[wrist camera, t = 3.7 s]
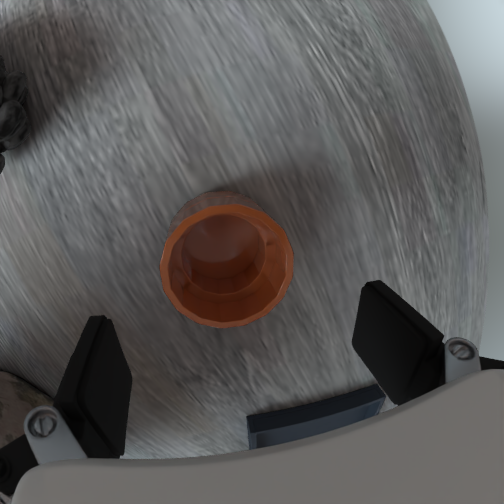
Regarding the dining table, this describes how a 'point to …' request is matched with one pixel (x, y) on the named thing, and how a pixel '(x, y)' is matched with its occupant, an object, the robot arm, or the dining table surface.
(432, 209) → the dining table surface
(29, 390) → the clay pot
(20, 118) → the fruit
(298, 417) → the tray
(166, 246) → the small bowl
